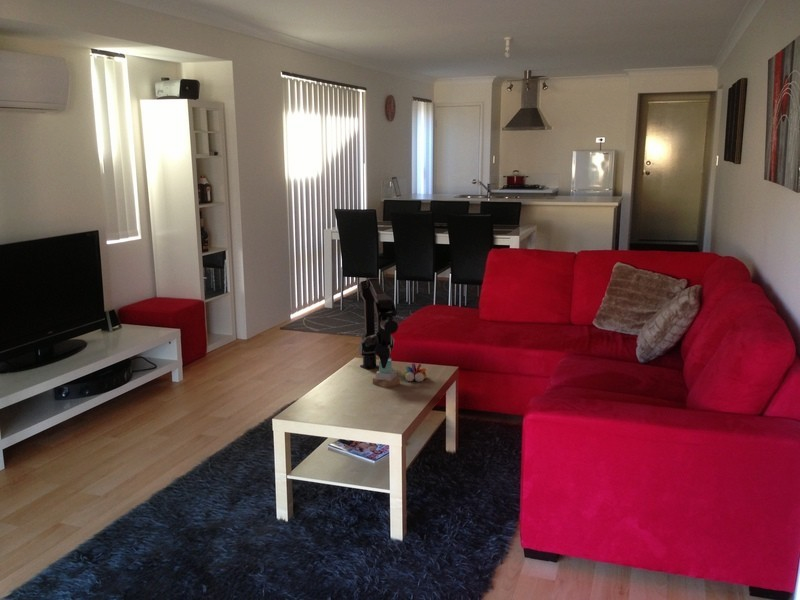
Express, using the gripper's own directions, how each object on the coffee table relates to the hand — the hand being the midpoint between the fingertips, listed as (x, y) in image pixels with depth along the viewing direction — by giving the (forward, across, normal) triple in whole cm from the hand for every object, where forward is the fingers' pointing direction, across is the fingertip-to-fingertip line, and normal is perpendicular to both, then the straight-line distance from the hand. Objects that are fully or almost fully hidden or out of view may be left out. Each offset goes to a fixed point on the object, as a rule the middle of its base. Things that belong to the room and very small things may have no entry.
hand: (385, 365), depth 293 cm
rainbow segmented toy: (+8, -6, +12) cm, 16 cm away
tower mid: (+6, 0, 0) cm, 6 cm away
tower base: (+8, 0, 0) cm, 9 cm away
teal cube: (+2, 0, 0) cm, 3 cm away
